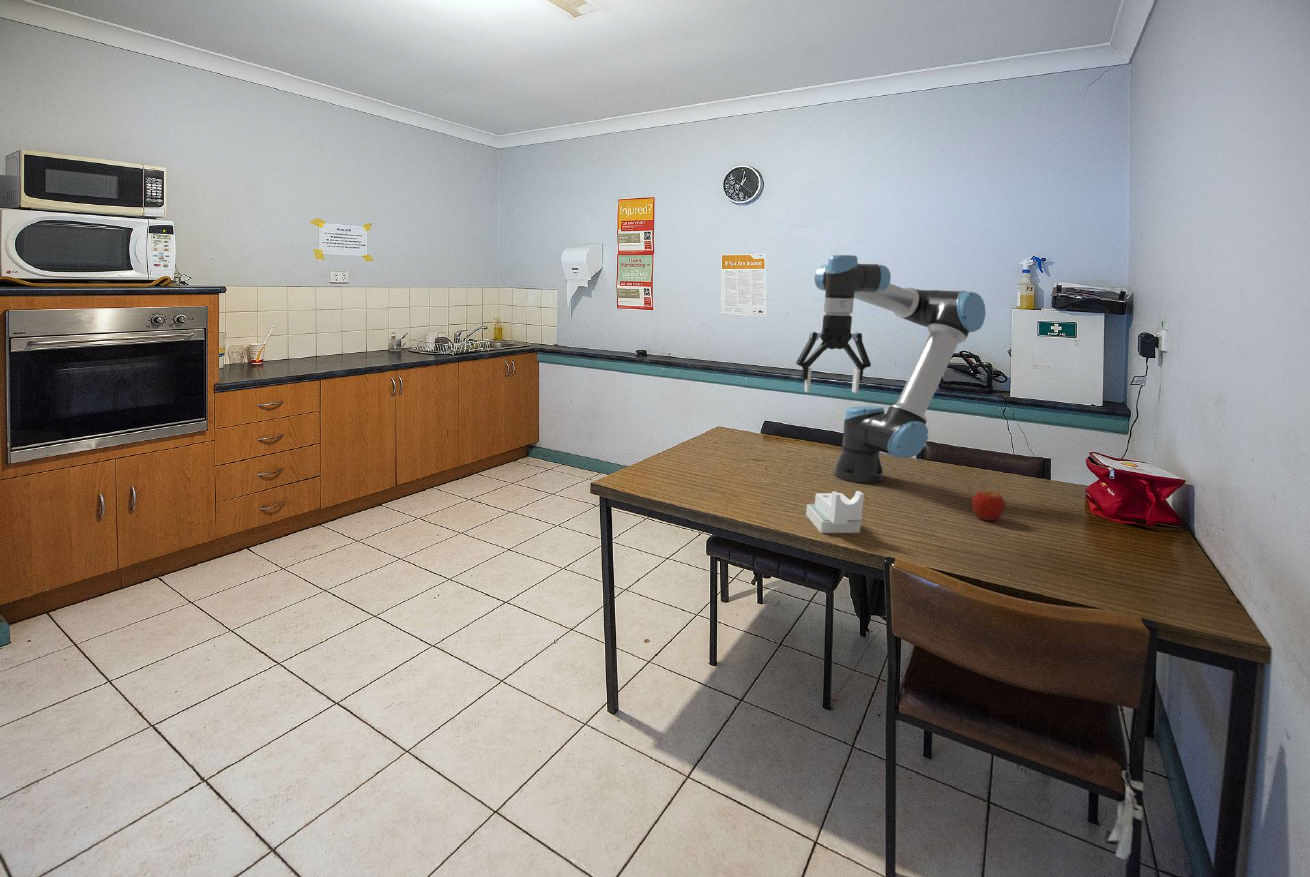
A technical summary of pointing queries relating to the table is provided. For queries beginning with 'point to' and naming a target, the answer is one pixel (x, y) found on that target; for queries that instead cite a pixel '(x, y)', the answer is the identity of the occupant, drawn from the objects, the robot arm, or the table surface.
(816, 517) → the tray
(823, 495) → the bracket
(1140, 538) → the table surface
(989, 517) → the apple
